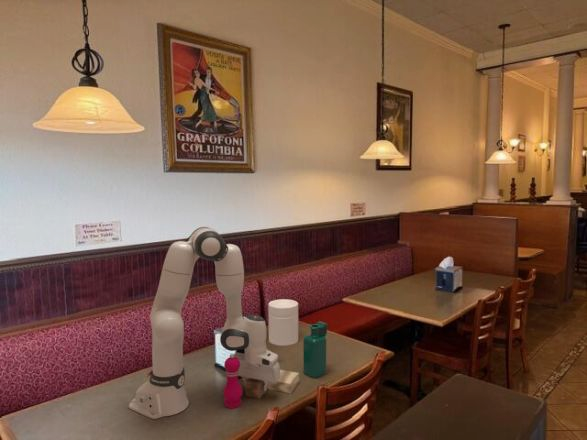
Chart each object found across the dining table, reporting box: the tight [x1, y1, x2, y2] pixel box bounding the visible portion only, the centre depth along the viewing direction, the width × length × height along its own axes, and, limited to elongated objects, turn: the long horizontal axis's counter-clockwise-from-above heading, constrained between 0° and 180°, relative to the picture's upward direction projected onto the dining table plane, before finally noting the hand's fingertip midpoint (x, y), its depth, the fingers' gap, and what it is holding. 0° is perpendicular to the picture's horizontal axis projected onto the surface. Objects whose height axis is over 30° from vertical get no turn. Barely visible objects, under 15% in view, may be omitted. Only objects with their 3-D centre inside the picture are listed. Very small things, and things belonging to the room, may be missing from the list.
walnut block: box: [245, 378, 267, 400], centre depth 167 cm, size 6×6×6 cm
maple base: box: [267, 369, 300, 394], centre depth 173 cm, size 10×10×4 cm
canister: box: [267, 298, 299, 347], centre depth 222 cm, size 16×16×20 cm
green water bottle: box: [302, 320, 328, 379], centre depth 184 cm, size 10×8×22 cm
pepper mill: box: [222, 353, 243, 409], centre depth 159 cm, size 7×7×20 cm
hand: (256, 388), depth 167 cm, fingers closed on walnut block, 6 cm apart
